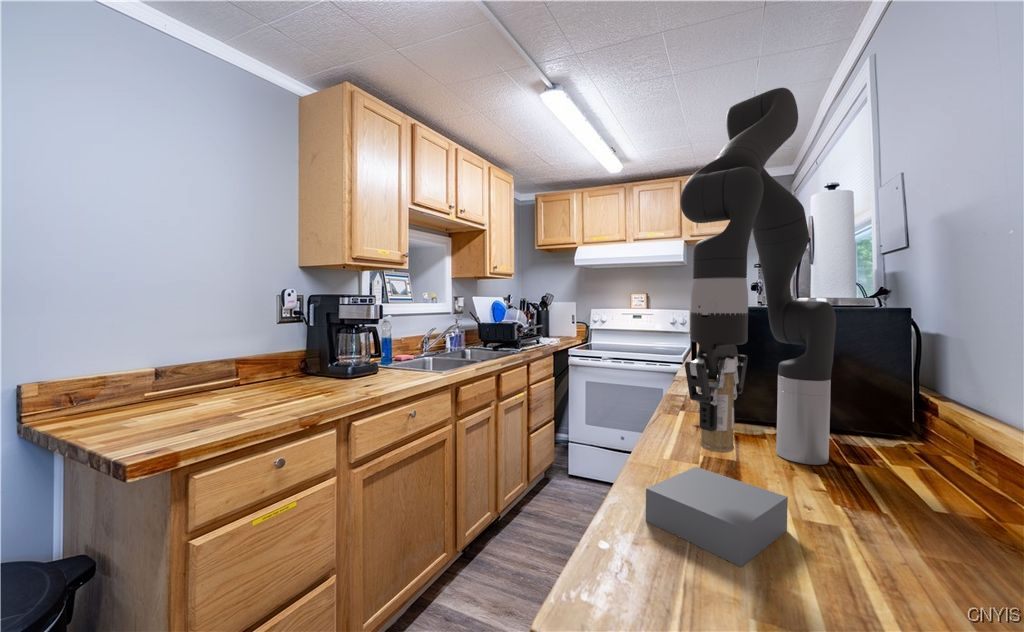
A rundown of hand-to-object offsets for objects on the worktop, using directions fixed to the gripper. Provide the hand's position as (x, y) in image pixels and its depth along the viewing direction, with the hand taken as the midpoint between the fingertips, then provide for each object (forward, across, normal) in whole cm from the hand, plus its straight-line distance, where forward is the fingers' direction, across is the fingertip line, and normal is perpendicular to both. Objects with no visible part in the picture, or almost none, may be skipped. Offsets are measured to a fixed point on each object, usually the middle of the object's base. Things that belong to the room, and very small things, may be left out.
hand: (716, 426), depth 62 cm
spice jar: (+3, 0, 0) cm, 3 cm away
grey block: (+15, 0, 0) cm, 15 cm away
